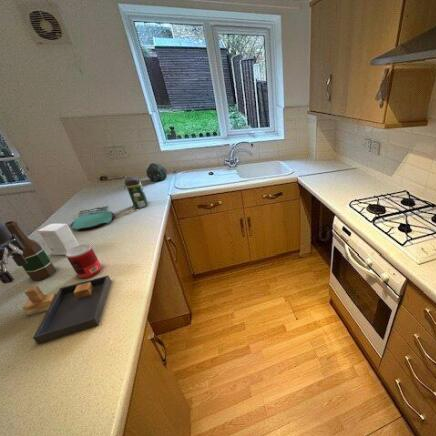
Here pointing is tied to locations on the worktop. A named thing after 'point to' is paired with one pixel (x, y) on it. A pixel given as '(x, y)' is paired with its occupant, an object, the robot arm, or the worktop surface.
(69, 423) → the worktop surface
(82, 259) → the canned food
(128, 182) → the coffee jar
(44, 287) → the worktop surface
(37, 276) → the beer bottle
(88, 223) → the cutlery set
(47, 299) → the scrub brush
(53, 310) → the tray
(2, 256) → the robot arm
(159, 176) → the squash
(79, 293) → the orange brown wooden block
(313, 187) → the worktop surface
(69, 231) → the small box
